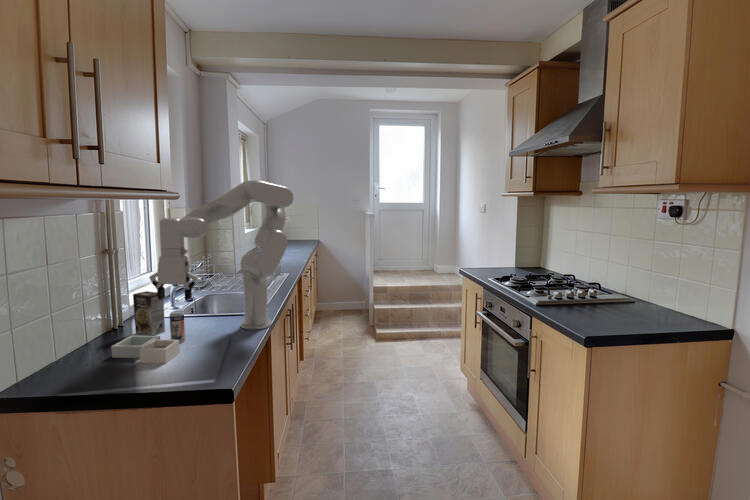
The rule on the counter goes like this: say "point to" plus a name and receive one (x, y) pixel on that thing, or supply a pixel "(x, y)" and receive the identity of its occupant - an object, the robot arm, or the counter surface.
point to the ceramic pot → (159, 351)
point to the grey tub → (131, 346)
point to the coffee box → (148, 313)
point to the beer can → (177, 326)
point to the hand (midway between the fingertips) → (174, 299)
